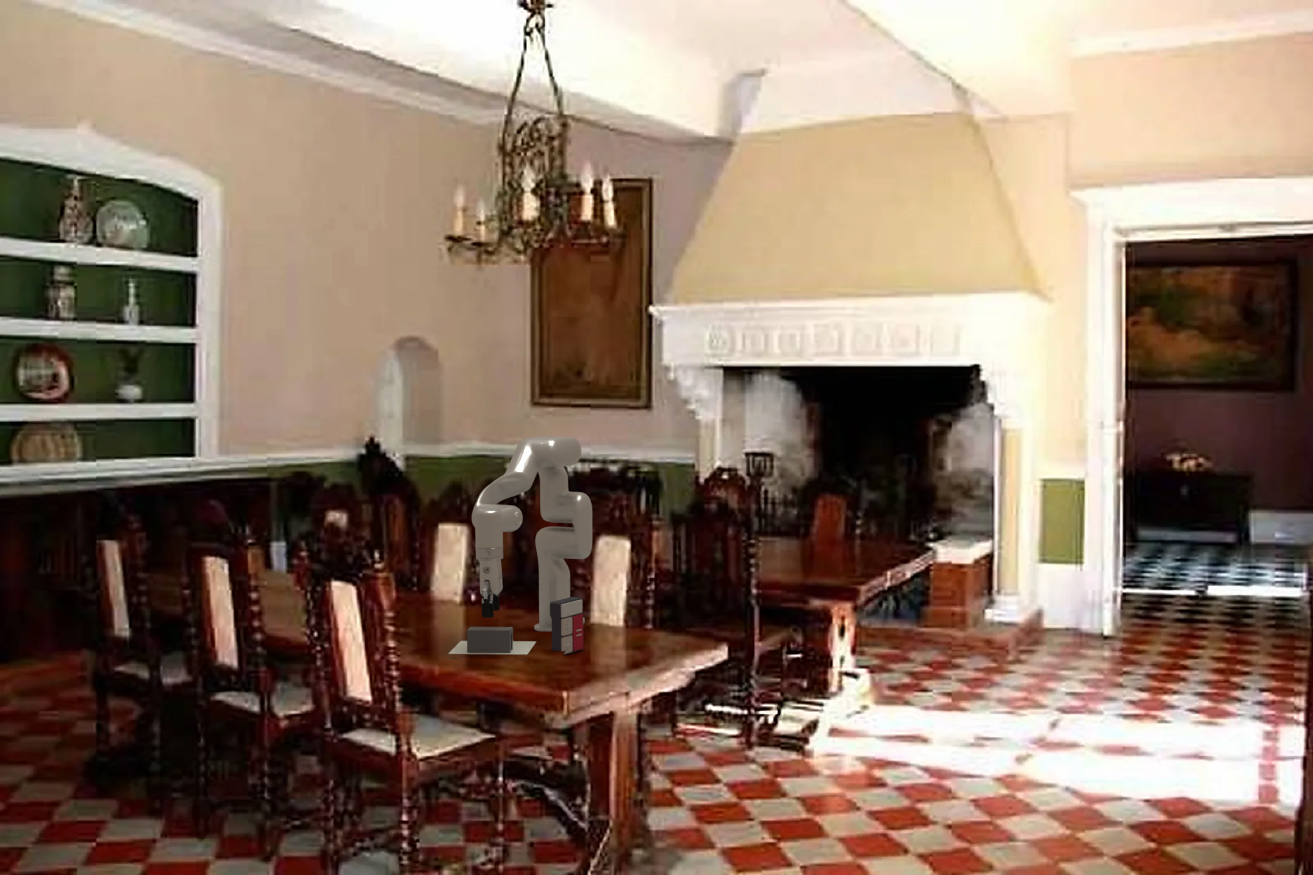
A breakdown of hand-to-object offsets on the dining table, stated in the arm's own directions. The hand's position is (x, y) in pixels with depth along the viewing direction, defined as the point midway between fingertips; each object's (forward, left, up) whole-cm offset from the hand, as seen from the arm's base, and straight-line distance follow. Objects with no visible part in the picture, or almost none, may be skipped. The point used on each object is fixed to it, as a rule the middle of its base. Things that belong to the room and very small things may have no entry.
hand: (490, 613), depth 389 cm
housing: (0, +1, -10) cm, 10 cm away
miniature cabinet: (-21, -5, -12) cm, 25 cm away
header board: (0, -4, -12) cm, 13 cm away
